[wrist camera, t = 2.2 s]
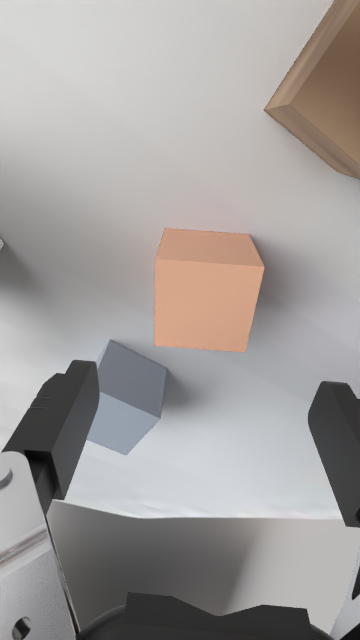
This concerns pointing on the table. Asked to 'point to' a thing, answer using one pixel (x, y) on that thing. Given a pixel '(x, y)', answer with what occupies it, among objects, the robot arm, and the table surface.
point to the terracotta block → (205, 289)
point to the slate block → (126, 398)
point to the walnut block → (326, 90)
